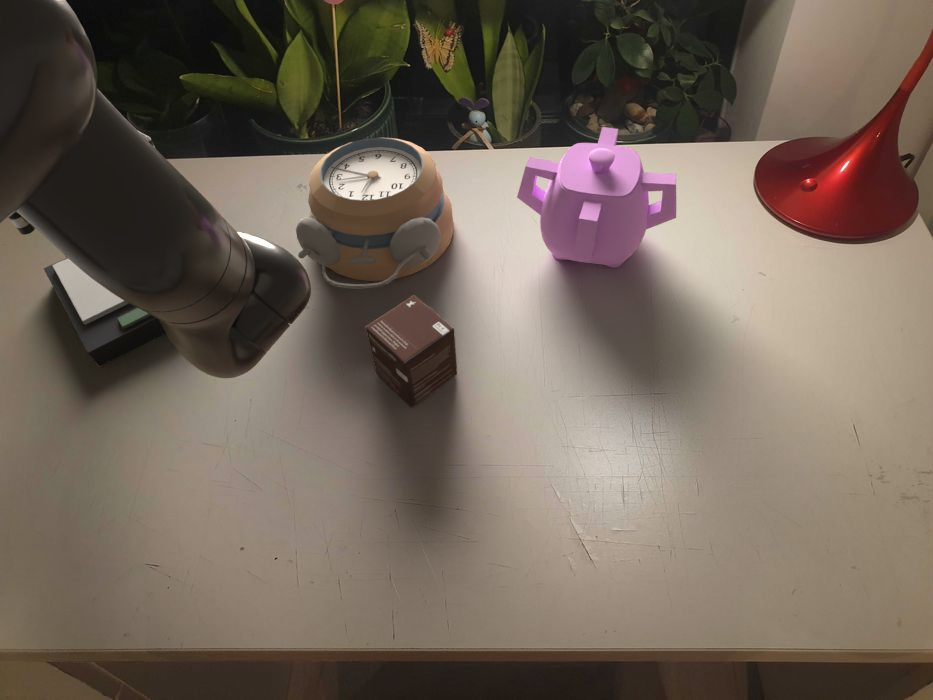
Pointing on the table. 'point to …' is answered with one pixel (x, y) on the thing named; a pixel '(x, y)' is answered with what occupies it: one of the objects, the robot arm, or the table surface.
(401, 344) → the box
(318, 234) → the alarm clock
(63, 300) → the scale
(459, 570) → the table surface
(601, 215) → the pot
